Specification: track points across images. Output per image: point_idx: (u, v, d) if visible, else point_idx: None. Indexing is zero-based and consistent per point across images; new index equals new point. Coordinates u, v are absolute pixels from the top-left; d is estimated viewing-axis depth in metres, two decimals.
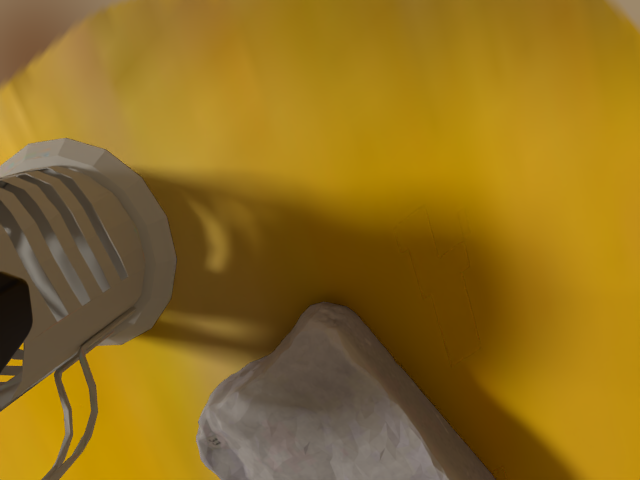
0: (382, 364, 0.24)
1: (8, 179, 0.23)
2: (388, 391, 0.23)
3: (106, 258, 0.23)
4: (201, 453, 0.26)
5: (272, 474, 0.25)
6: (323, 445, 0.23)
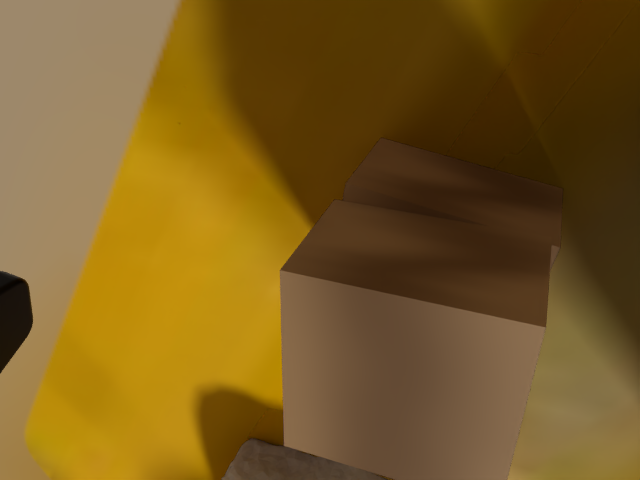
0: None
1: None
2: None
3: None
4: None
5: None
6: None
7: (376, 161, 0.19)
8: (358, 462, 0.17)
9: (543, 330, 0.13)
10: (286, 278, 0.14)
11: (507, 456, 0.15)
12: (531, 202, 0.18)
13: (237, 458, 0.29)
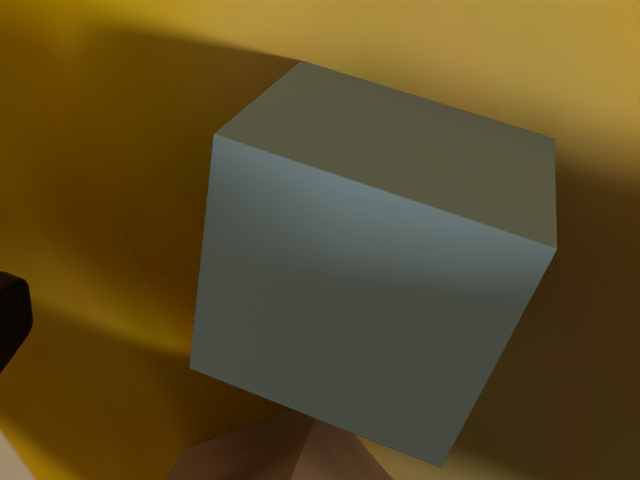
0: None
1: None
2: None
3: None
4: None
5: None
6: None
7: None
8: None
9: None
10: None
11: None
12: (278, 454, 0.16)
13: None
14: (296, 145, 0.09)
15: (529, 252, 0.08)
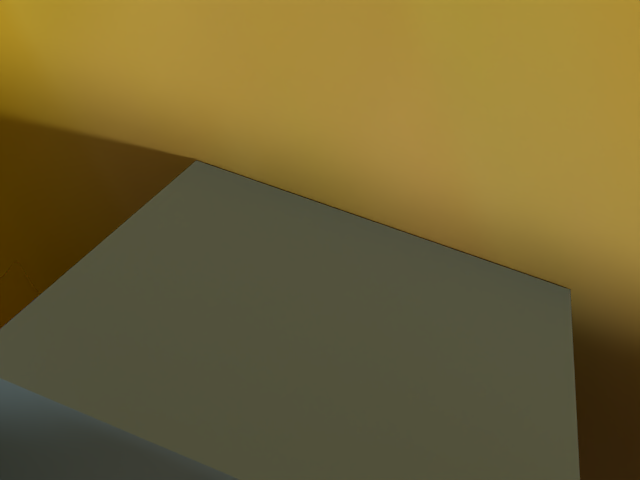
0: None
1: None
2: None
3: None
4: None
5: None
6: None
7: None
8: None
9: None
10: None
11: None
12: None
13: None
14: (119, 370, 0.05)
15: None
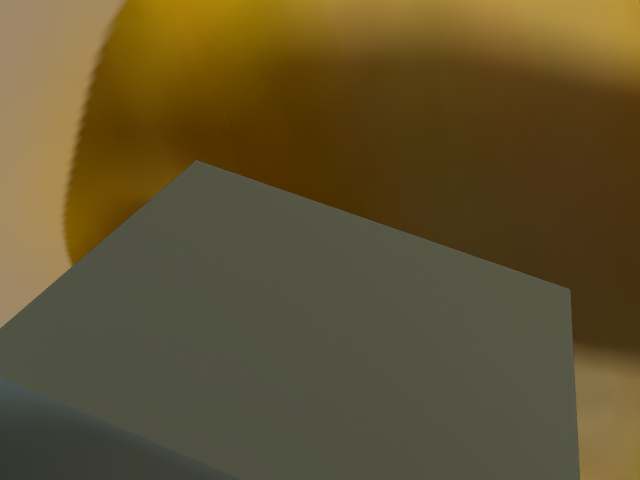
0: None
1: None
2: None
3: None
4: None
5: None
6: None
7: None
8: None
9: None
10: None
11: None
12: None
13: None
14: (119, 370, 0.05)
15: None
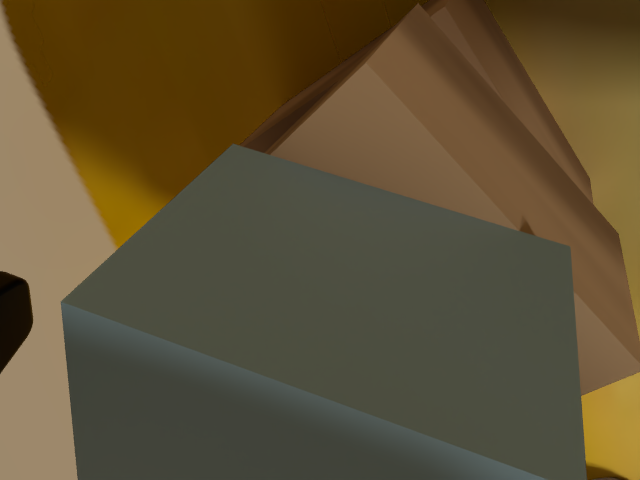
0: None
1: None
2: None
3: None
4: None
5: None
6: None
7: (264, 124, 0.15)
8: None
9: (367, 68, 0.08)
10: None
11: None
12: None
13: None
14: (188, 308, 0.06)
15: None
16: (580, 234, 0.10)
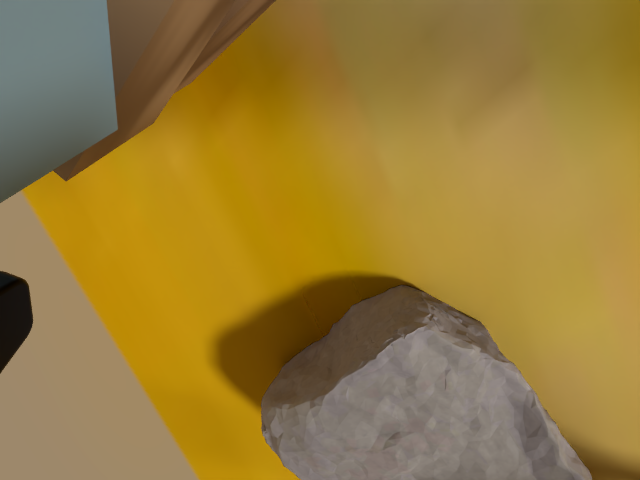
0: None
1: None
2: None
3: None
4: None
5: None
6: None
7: None
8: None
9: None
10: None
11: None
12: None
13: None
14: None
15: None
16: None
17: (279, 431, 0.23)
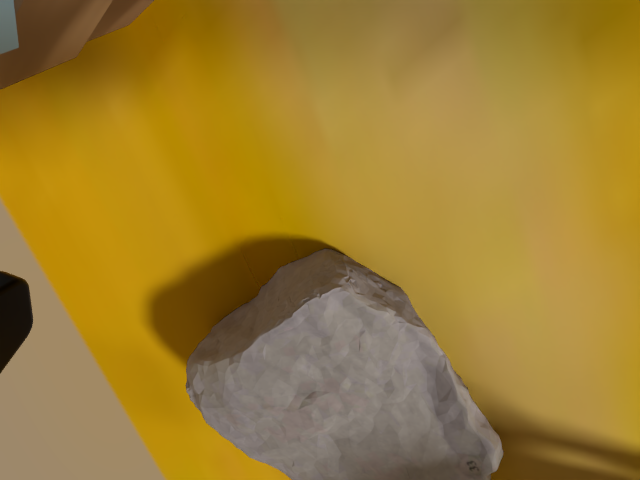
0: None
1: None
2: None
3: None
4: (492, 457, 0.22)
5: (399, 449, 0.23)
6: (347, 471, 0.25)
7: None
8: None
9: None
10: None
11: None
12: None
13: (195, 350, 0.26)
14: None
15: None
16: None
17: (201, 387, 0.24)
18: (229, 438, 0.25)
